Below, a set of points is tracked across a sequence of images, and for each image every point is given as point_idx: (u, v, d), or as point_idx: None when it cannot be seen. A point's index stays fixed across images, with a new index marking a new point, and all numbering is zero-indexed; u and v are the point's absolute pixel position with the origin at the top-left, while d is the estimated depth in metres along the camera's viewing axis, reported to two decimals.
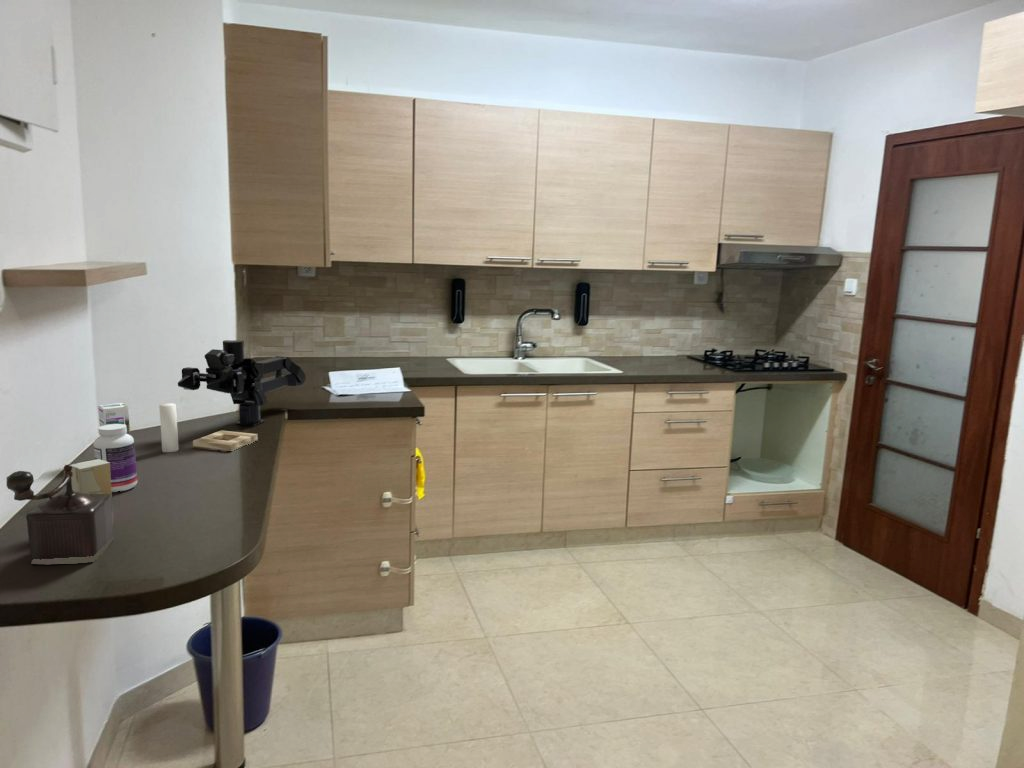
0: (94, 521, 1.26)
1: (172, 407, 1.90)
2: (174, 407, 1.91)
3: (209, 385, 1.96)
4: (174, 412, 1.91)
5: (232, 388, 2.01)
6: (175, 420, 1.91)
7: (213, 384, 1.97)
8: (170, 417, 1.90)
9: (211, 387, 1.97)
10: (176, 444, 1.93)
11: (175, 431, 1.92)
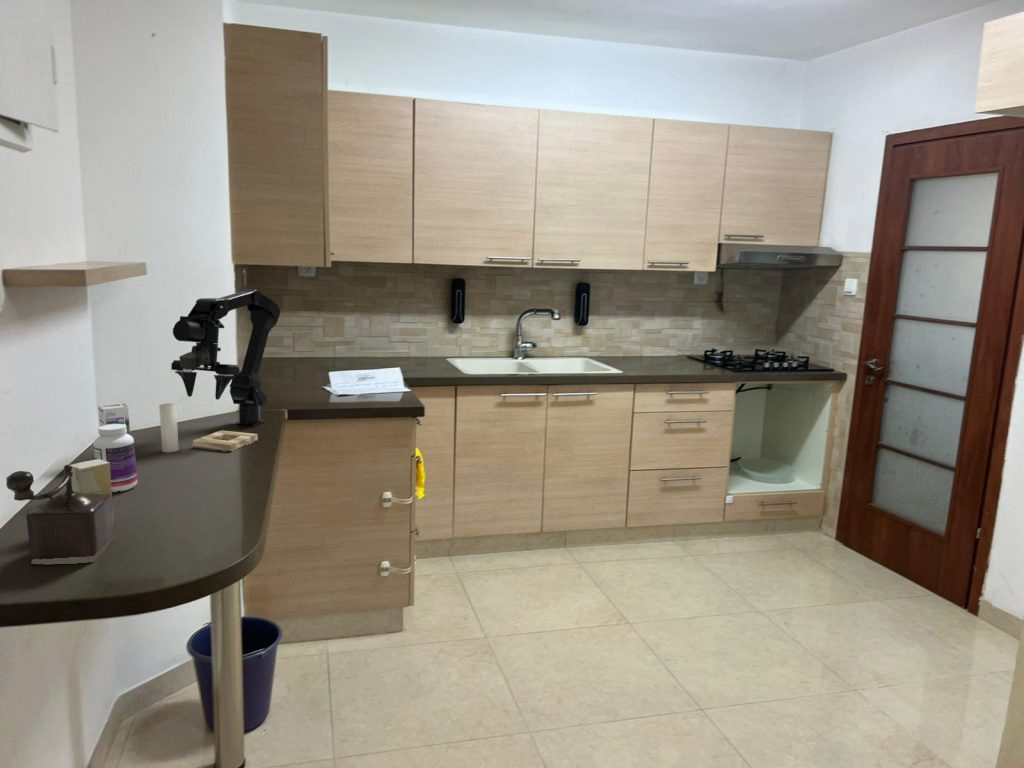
0: (94, 521, 1.26)
1: (172, 407, 1.90)
2: (174, 407, 1.91)
3: (217, 397, 2.02)
4: (174, 412, 1.91)
5: (232, 377, 2.03)
6: (175, 420, 1.91)
7: (219, 393, 2.02)
8: (170, 417, 1.90)
9: (219, 395, 2.02)
10: (176, 444, 1.93)
11: (175, 431, 1.92)
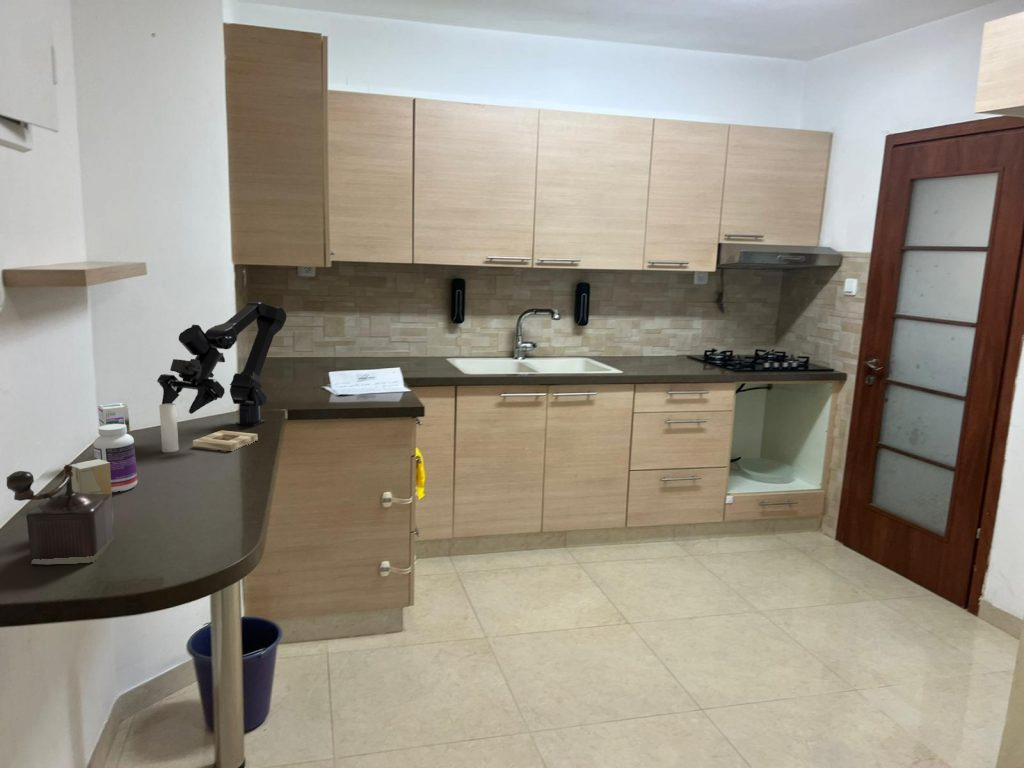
0: (95, 521, 1.26)
1: (172, 407, 1.90)
2: (174, 407, 1.91)
3: (191, 410, 1.93)
4: (174, 412, 1.91)
5: (213, 397, 1.96)
6: (175, 420, 1.91)
7: (194, 406, 1.93)
8: (170, 417, 1.90)
9: (193, 410, 1.93)
10: (176, 444, 1.93)
11: (175, 431, 1.92)
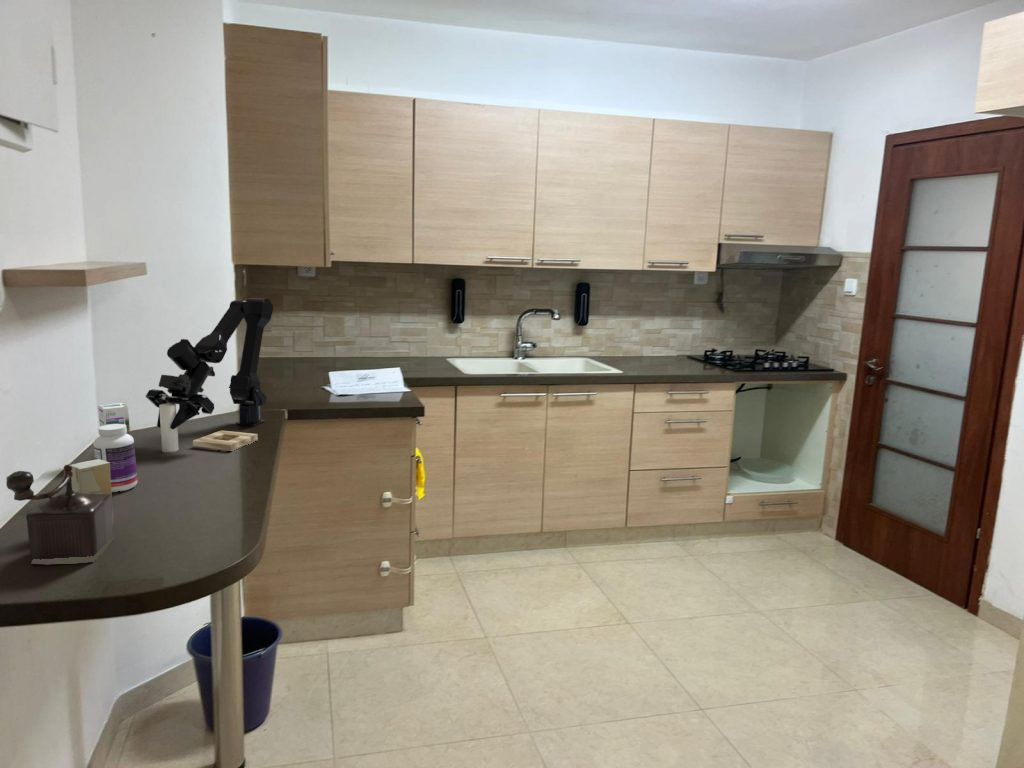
0: (94, 521, 1.26)
1: (172, 407, 1.90)
2: (174, 407, 1.91)
3: (173, 426, 1.90)
4: (174, 412, 1.91)
5: (196, 412, 1.94)
6: None
7: (176, 422, 1.91)
8: (170, 417, 1.90)
9: (175, 425, 1.91)
10: (176, 444, 1.92)
11: (175, 431, 1.92)
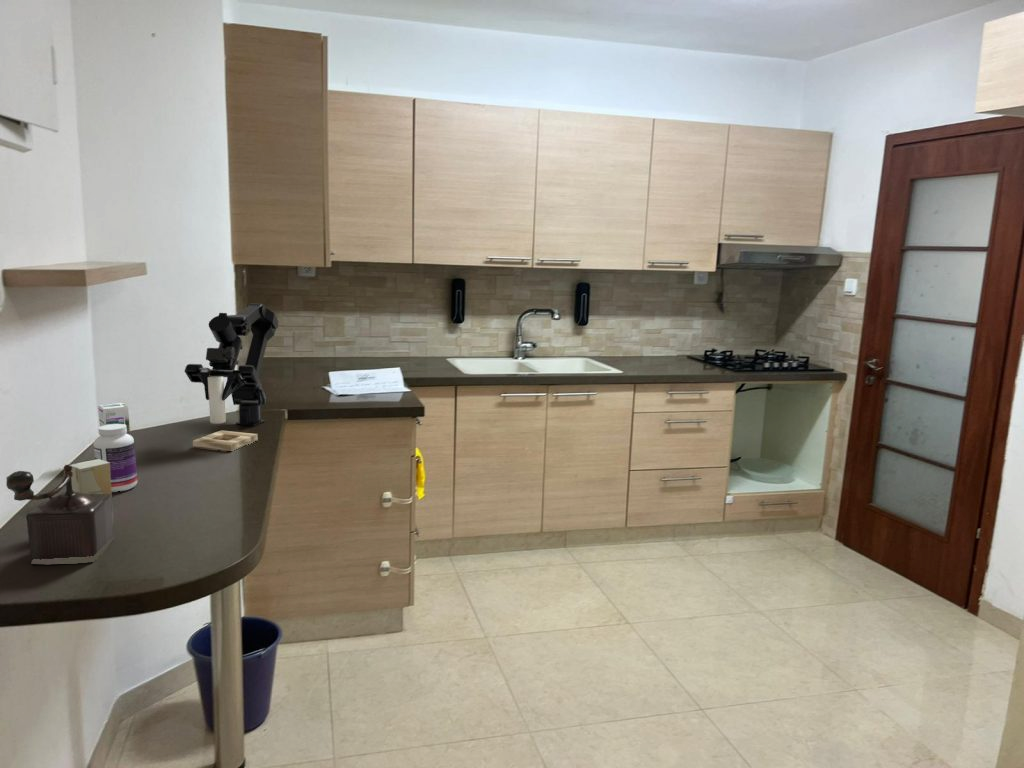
0: (94, 521, 1.26)
1: (222, 379, 1.95)
2: (223, 379, 1.96)
3: (224, 397, 1.96)
4: (223, 384, 1.96)
5: (241, 382, 2.00)
6: None
7: (226, 393, 1.96)
8: (221, 388, 1.95)
9: (225, 396, 1.96)
10: (225, 415, 1.98)
11: (224, 402, 1.97)
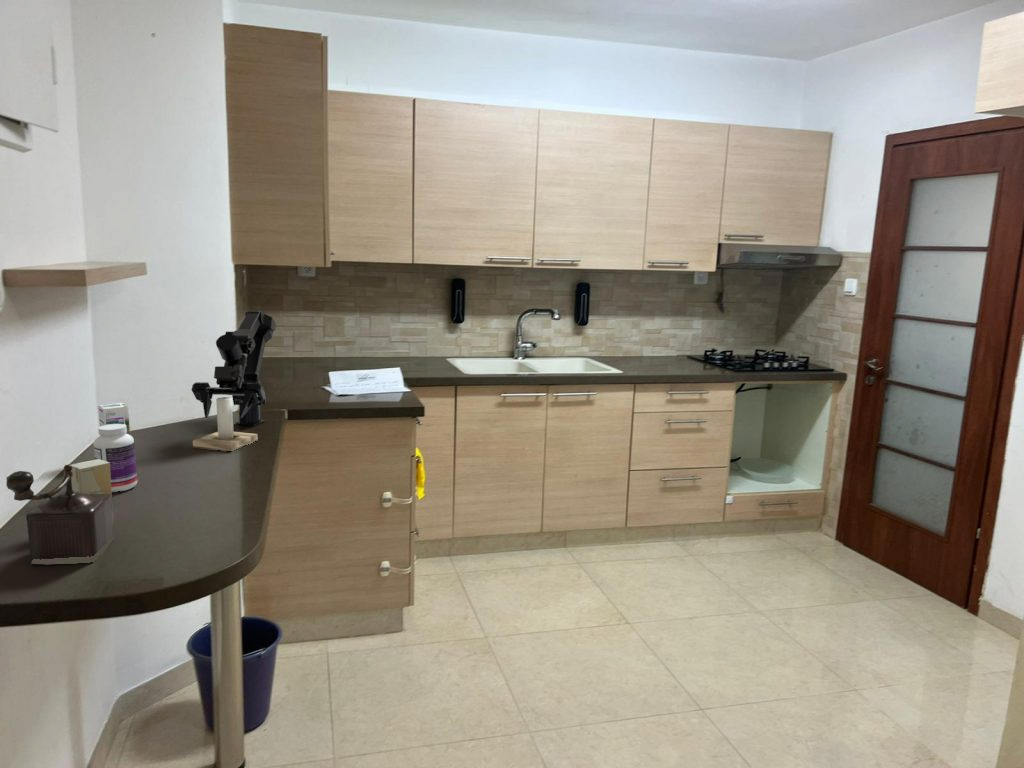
0: (94, 521, 1.26)
1: (231, 400, 1.98)
2: (231, 400, 1.98)
3: (241, 415, 1.98)
4: None
5: (257, 400, 2.03)
6: (232, 413, 1.99)
7: (244, 411, 1.99)
8: (229, 410, 1.97)
9: (243, 414, 1.99)
10: (233, 436, 2.00)
11: (232, 423, 1.99)
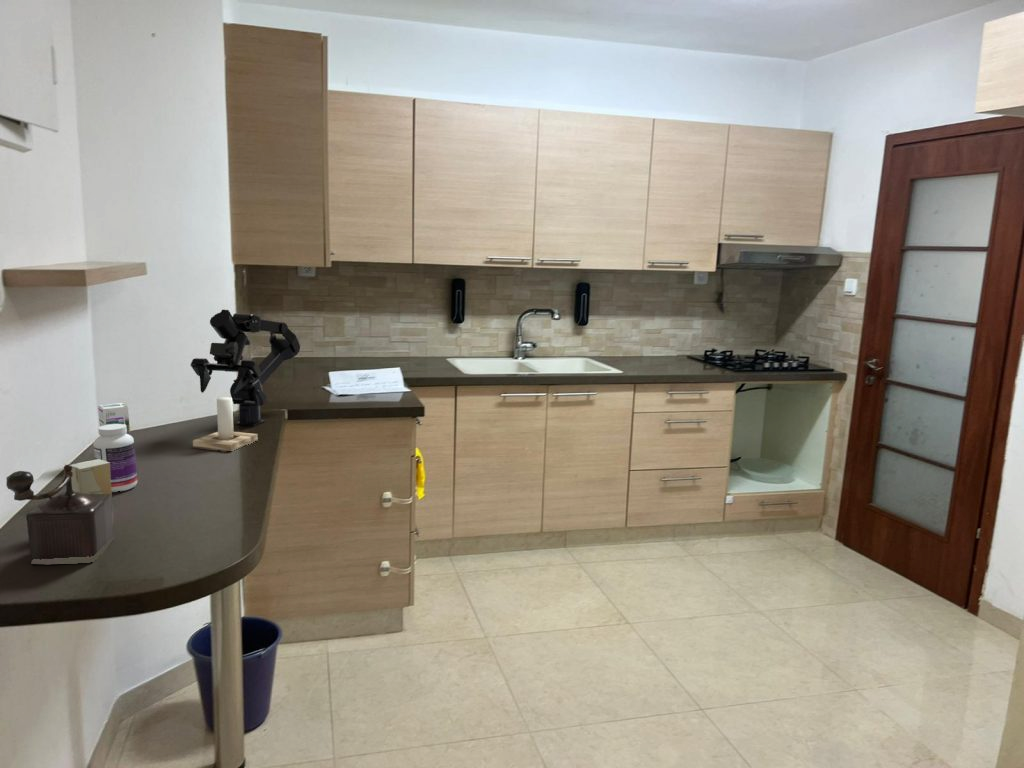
0: (94, 521, 1.26)
1: (231, 400, 1.98)
2: None
3: (234, 390, 2.03)
4: (232, 405, 1.99)
5: (252, 377, 2.08)
6: (232, 413, 1.99)
7: (237, 386, 2.04)
8: (230, 410, 1.98)
9: (236, 390, 2.04)
10: (233, 436, 2.00)
11: (232, 423, 1.99)
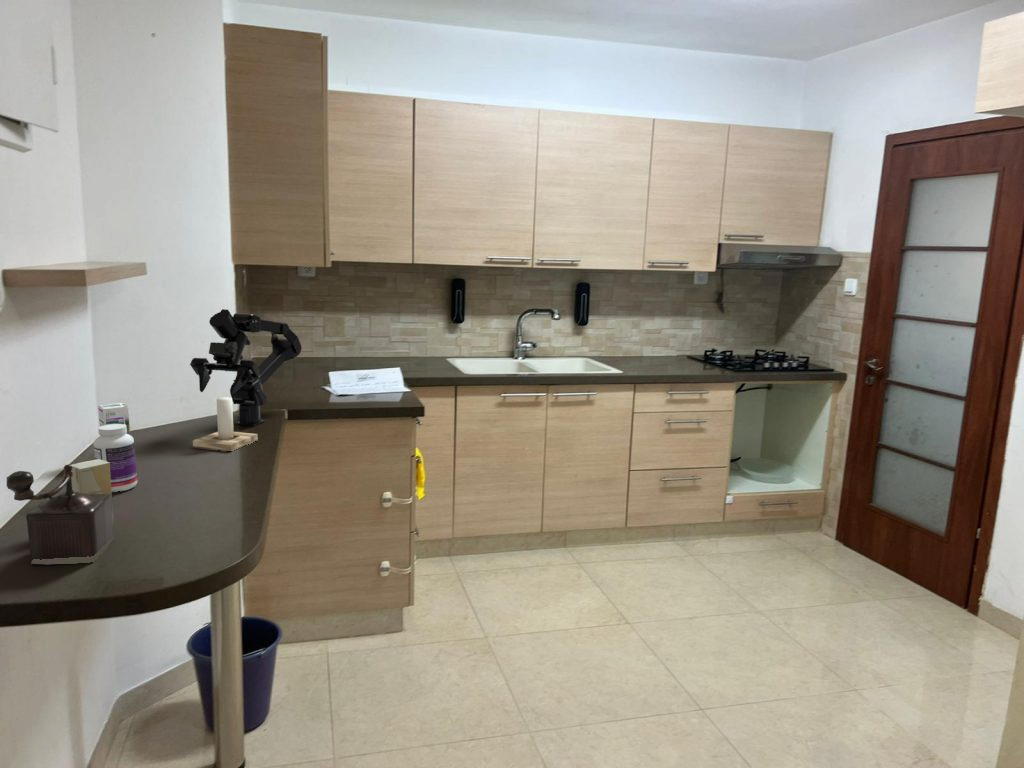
0: (94, 521, 1.26)
1: (231, 400, 1.98)
2: (231, 400, 1.98)
3: (233, 390, 2.03)
4: None
5: (251, 377, 2.08)
6: (232, 413, 1.99)
7: (236, 386, 2.04)
8: (230, 410, 1.98)
9: (235, 390, 2.04)
10: (233, 436, 2.00)
11: (232, 423, 2.00)
